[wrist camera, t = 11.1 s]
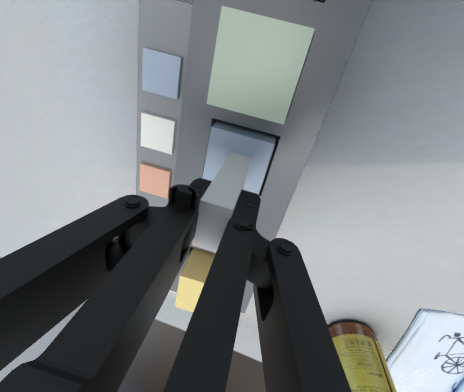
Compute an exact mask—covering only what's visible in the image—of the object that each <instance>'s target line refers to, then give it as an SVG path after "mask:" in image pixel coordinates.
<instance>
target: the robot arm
mask: <svg viewBox="0 0 464 392" xmlns="http://www.w3.org/2000/svg"><path fill="white" fill-rule="evenodd" d="M251 161H252V158H251V157H247V156H244V155H240V154H237V153H233V152H230V154H229V155H228V157H227V159H226V160H225V162H224V163H223V165H222V167H221V168H220V170H219V171H218V173H217V174H216V176H215V178H214V179H213V181H209V180H206V179H203V178H198V179H195V180H193V181H192V183H191V184H190V186H189V185H184V184H178V185H174V186H172V187H170V190H169V201H168V204H167V205H166V206H165V207H155V206H149V202H148V200H147V199H146V198H144V197H142V196H139V195H127V196H124V197H121V198H119V199H117V200H115V201H113V202H111V203H109V204H107V205H105V206H103V207H101V208H99V209H97V210H95V211H93V212H91V213H89V214H87V215H85V216H83V217H82V218H80V219H78V220H76V221H74V222H72V223H70V224H68V225H66V226H64V227H62V228H60V229H58V230H56V231H54V232H52V233H50V234H48V235H46V236H44V237H42V238H40V239H38V240H36V241H34V242H32V243H30V244H28V245H26V246H24V247H22V248H20V249H18V250H16V251H15V252H13V253H11V254H9V255H7V256H5V257H3V258H1V259H0V371H1V370H2V369H3V368H4V367H6V366H7V365H8V364H9V363H10V362H12V361H13V360H14V359H15V358H16V357H17V356H19V355H20V354H21V353H23V352H24V351H25V350H26V349H27V348H28V347H30V346H31V345H32V344H33V343H35V342H36V341H37V340H38V339H39V338H41V337H42V336H43V335H44V334H45V333H47V332H48V331H49V330H51V329H52V328H53V327H54V326H55V325H56V324H58V323H59V322H60V321H61V320H62V319H64V318H65V317H66V316H67V315H69V314H70V313H71V312H72V311H74V310H75V309H76V308H77V307H78V306H80V304H82V303H83V302H85V300H87V299H88V298H89V299H88V300H87V301H86V302H85V303H84V304H83V306H82V307H81V308H80V309H79V310H78V312H77V313H76V314H75V315H74V316H73V318H72V319H71V320H70V321H69V323H68V324H67V325H66V326H65V327H64V328H63V330H62V331H61V332H60V333H59V334H58V336H57V337H56V338H55V339H54V341H53V342H52V343H51V344H50V345H49V346H48V348H47V349H46V350H45V351H44V352H43V353H42V354H41V355H40V356H39V357H38V358H36V359H35V360H33V361H30V362H26V363H22V364H21V365H19V366H18V367H17V368H15V369H14V370H12V371H11V372H10V373H9V374H8V375H7V376H6V377H5V378H4V379H3V380H2V381H1V382H0V392H117V391H118V389H119V387H120V385H121V383H122V381H123V379H124V377H125V376H126V374H127V372H128V370H129V368H130V366H131V364H132V361H133V360H134V358H135V356H136V354H137V352H138V350H139V348H140V346H141V344H142V342H143V341H144V339H145V337H146V335H147V333H148V331H149V329H150V327H151V325H152V323H153V321H154V319H155V317H156V315H157V313H158V311H159V309H160V308H161V306H162V304H163V302H164V300H165V298H166V296H167V294H168V292H169V290H170V288H171V286H172V284H173V282H174V280H175V278H176V276H177V274H178V273H179V271H180V269H181V267H182V265H183V263H184V261H185V259H186V257H187V255H188V253H189V249H190V244H191V242H192V240H193V244H192V246H196V247H199V248H202V249H205V250H208V251H212V252H215V253H216V254H215V257H214V259H213V262H212V265H211V267H210V270H209V273H208V275H207V278H206V280H205V283H204V286H203V288H202V291H201V294H200V296H199V299H198V301H197V304H196V307H195V309H194V312H193V315H192V317H191V320H190V322H189V325H188V328H187V330H186V333H185V336H184V338H183V341H182V343H181V346H180V349H179V351H178V354H177V357H176V359H175V362H174V365H173V367H172V370H171V372H170V375H169V378H168V380H167V383H166V386H165V388H164V391H163V392H225V389H226V384H227V379H228V374H229V368H230V363H231V358H232V353H233V348H234V343H235V338H236V332H237V327H238V322H239V317H240V312H241V307H242V301H243V296H244V291H245V286H246V281H247V280H248V281H249V282H251V283H253V284H254V285H253V290H254V298H255V306H256V314H257V322H258V330H259V338H260V346H261V355H262V363H263V371H264V378H265V387H266V392H352V391H351V388H350V385H349V383H348V380H347V377H346V375H345V372H344V369H343V367H342V364H341V361H340V358H339V356H338V353H337V350H336V348H335V345H334V342H333V340H332V337H331V334H330V332H329V329H328V326H327V323H326V321H325V318H324V315H323V313H322V310H321V307H320V305H319V302H318V299H317V296H316V294H315V291H314V288H313V286H312V283H311V280H310V278H309V275H308V272H307V269H306V267H305V264H304V261H303V259H302V256H301V253H300V251H299V249H298V247H297V246H296V245H295V244H293V243H292V242H290V241H289V240H286V239H283V238H275V239H273V240H272V241H269V240H267V239H265V238H264V237H262V236H261V235H260V234H259V233H258V231H257V229H256V222H257V217H258V212H259V207H260V202H261V199H260V197H259V195H258V194H256V193H252V192H249V191H246V190H243V189H244V186H245V182H246V179H247V175H248V172H249V168H250V164H251ZM117 236H118V237H117ZM116 237H117V238H116ZM114 238H115V239H114Z"/></svg>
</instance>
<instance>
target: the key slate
mask: <svg viewBox="0 0 464 392" xmlns="http://www.w3.org/2000/svg"><path fill="white" fill-rule="evenodd" d="M275 139H276V135H273V134H270V133H266V132H262V131H259V130H255V129H251V128H248V127H244V126H240V125H237V124H233V123H229V122H226V121H222V120H218V121H217V122H216V123H215V124H214V125H213V126H211V131H210V137H209V142H208V148H207V154H206V160H205V165H204V171H203V177H202V178H203V179H206V180H209V181H213V179H214V178H215V176H216V174H217V173H218V171H219V170H220V168H221V167H222V165H223V163H224V162H225V160H226V159H227V157H228V155H229V154H230V152H233V153H237V154H240V155H244V156H247V157H251V158H252V161H251V164H250V168H249V172H248V175H247V179H246V182H245V186H244V189H243V190H246V191H249V192H252V193H256V194H258V195H259V192H260V189H261V186H262V183H263V180H264V176H265V173H266V170H267V167H268V164H269V161H270V158H271V155H272V152H273V148H274V145H275Z"/></svg>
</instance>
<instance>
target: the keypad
mask: <svg viewBox="0 0 464 392" xmlns="http://www.w3.org/2000/svg"><path fill="white" fill-rule="evenodd" d="M371 2H372V0H322V2H317V1H313V0H193V3H192V4H189V3H185V2H181V1H177V0H139V38H138V106H137V174H136V195H139V196H142V197H144V198H146V199H147V200H148V202H149V206H155V207H165V206H166V205H167V204H168V201H169V190H170V187H172V186H174V185H178V184H184V185H189V186H190V184H191V183H192V181H193V180H195V179H198V178H202V177H203V171H204V165H205V160H206V154H207V148H208V142H209V137H210V131H211V126H213V125H214V124H215V123H216V122H217V121H218V120H222V121H226V122H229V123H233V124H237V125H240V126H244V127H248V128H251V129H255V130H259V131H262V132H266V133H270V134H273V135H277V136H278V138H277V141H276V144H275V147H274V151H273V154H272V157H271V160H270V163H269V166H268V169H267V172H266V175H265V178H264V181H263V183H262V186H261V189H260V192H259V197H260V199H261V202H260V207H259V212H258V217H257V222H256V229H257V231H258V233H259V234H260V235H261V236H262V237H264V238H265V239H267V240H269V241H272V240H273V239H275V237H276V235H277V232H278V230H279V227H280V225H281V223H282V220H283V218H284V215H285V213H286V210H287V208H288V205H289V203H290V201H291V198H292V196H293V193H294V191H295V188H296V186H297V183H298V181H299V178H300V176H301V174H302V171H303V169H304V166H305V164H306V161H307V159H308V156H309V154H310V152H311V149H312V147H313V144H314V142H315V139H316V137H317V134H318V132H319V130H320V127H321V125H322V122H323V120H324V117H325V115H326V112H327V110H328V107H329V105H330V103H331V100H332V98H333V95H334V93H335V90H336V88H337V85H338V83H339V81H340V78H341V76H342V73H343V71H344V68H345V66H346V63H347V61H348V59H349V56H350V54H351V51H352V49H353V46H354V44H355V41H356V39H357V36H358V34H359V32H360V29H361V27H362V24H363V22H364V19H365V17H366V14H367V12H368V10H369V7H370V5H371ZM222 6H225V7H229V8H234V9H238V10H242V11H246V12H250V13H254V14H258V15H262V16H266V17H270V18H274V19H278V20H282V21H286V22H290V23H294V24H298V25H302V26H306V27H310V28H314V29H315V31H314V34H313V37H312V40H311V43H310V46H309V49H308V52H307V55H306V58H305V61H304V64H303V67H302V70H301V73H300V76H299V79H298V82H297V86H296V89H295V92H294V95H293V98H292V101H291V104H290V107H289V110H288V113H287V116H286V119H285V122H284V125H283V124H280V123H276V122H272V121H268V120H265V119H261V118H257V117H254V116H250V115H246V114H243V113H239V112H235V111H231V110H228V109H224V108H220V107H217V106H213V105H209V104H207V97H208V91H209V84H210V78H211V72H212V65H213V59H214V52H215V46H216V39H217V33H218V27H219V20H220V14H221V7H222ZM193 247H194V248H197V249H201V250H204V251H207V252H210V253H214V254H216V253H215V252H212V251H208V250H205V249H202V248H199V247H196V246H192V243H191V244H190V249H189V253H188V255H187V257H186V259H185V261H184V263H183V265H182V267H181V269H180V271H179V273H178V274H177V276H176V278H175V280H174V282H173V284H172V286H171V288H170V290H172V291H175V292H177V290H178V283H179V277H180V274H181V272H182V270H183V268H184V266H185V264H186V262H187V260H188V258H189V255H190V253H191V251H192V249H193ZM253 285H254V284H253V283H251V282H249V281H248V280H247V281H246V286H245V291H244V296H243V301H242V307H241V312H242V313H245V311H246V308H247V306H248V303H249V301H250V298H251V296H252V294H253V291H254V290H253Z"/></svg>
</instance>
